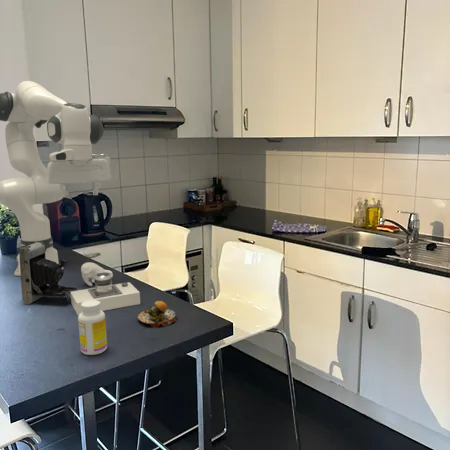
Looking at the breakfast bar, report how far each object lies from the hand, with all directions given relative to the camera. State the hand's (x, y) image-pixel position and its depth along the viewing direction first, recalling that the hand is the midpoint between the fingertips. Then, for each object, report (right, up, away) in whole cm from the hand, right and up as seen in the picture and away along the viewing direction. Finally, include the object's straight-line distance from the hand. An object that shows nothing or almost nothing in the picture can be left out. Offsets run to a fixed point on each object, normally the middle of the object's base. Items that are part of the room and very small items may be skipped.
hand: (81, 196), depth 151 cm
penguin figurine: (0, -32, +20) cm, 38 cm away
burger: (+28, -39, -14) cm, 50 cm away
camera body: (+8, -36, -1) cm, 37 cm away
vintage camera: (-11, -36, +2) cm, 37 cm away
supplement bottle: (+14, -42, -34) cm, 56 cm away
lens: (+8, -36, -1) cm, 37 cm away
